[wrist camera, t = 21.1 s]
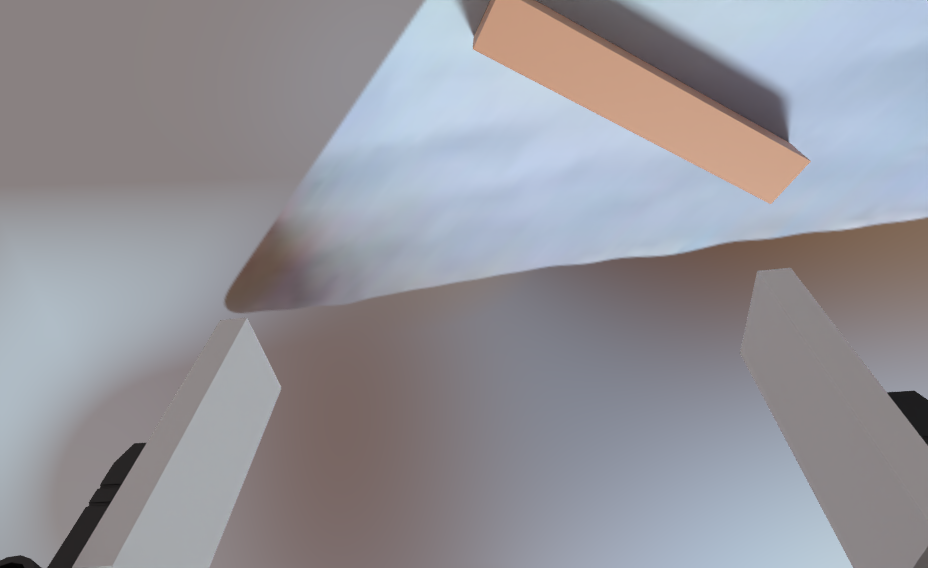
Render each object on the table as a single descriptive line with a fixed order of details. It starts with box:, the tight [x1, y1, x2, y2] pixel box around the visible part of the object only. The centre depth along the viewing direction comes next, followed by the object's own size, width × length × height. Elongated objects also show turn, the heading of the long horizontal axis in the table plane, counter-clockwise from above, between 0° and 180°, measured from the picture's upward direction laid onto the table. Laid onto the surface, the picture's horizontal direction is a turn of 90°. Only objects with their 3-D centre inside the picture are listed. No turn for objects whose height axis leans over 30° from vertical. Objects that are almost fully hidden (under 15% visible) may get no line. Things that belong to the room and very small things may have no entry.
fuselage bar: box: [473, 0, 811, 204], centre depth 40 cm, size 26×4×4 cm, turn 64°
